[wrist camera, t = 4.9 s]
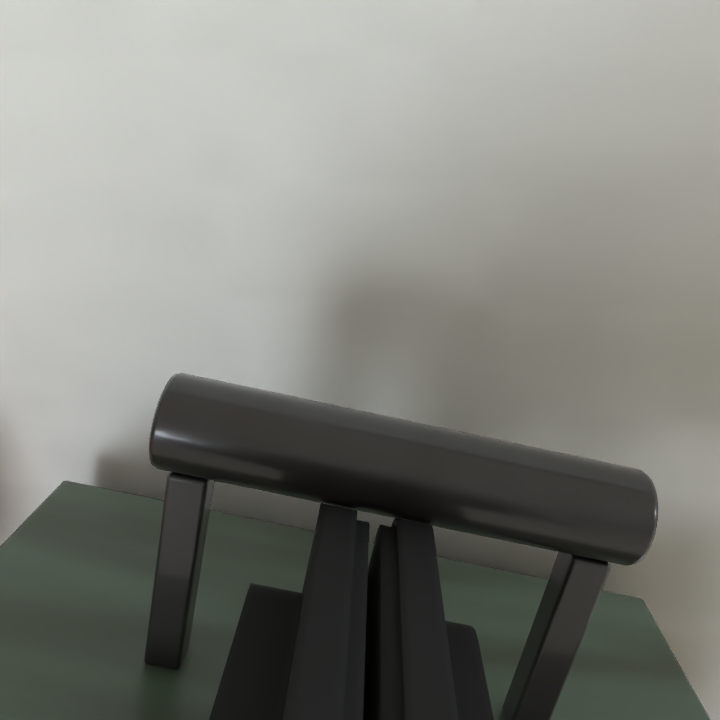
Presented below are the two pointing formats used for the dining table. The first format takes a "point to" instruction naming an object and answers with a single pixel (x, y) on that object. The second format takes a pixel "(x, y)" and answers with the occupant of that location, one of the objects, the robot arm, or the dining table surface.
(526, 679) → the drawer
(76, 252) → the dining table surface
